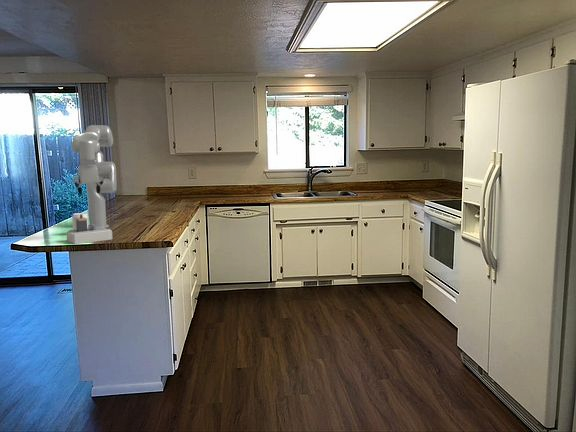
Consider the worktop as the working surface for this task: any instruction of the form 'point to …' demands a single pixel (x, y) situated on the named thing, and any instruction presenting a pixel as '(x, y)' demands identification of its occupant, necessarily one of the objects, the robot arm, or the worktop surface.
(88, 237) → the socket block
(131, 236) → the worktop surface
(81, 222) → the plug
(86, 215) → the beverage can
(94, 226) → the shutter
